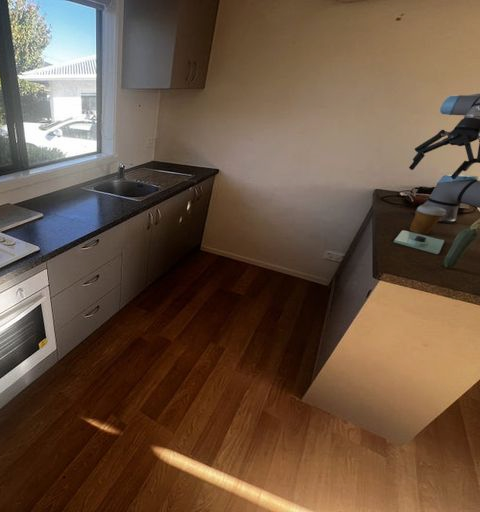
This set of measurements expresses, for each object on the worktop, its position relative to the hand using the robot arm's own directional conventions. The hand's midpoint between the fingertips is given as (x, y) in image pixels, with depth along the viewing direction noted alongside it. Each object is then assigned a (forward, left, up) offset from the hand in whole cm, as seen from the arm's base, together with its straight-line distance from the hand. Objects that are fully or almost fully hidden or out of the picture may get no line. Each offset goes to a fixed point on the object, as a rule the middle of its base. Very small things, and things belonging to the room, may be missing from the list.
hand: (430, 173), depth 119 cm
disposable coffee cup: (-19, +6, -30) cm, 36 cm away
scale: (-2, +8, -29) cm, 31 cm away
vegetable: (+20, +18, -30) cm, 40 cm away
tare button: (+4, +8, -27) cm, 28 cm away
